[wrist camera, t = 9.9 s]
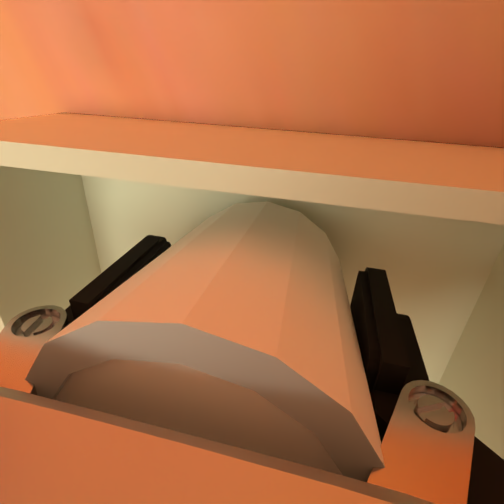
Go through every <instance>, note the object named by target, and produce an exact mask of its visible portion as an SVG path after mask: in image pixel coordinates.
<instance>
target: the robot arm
mask: <svg viewBox="0 0 504 504" xmlns="http://www.w3.org/2000/svg"><path fill="white" fill-rule="evenodd" d="M170 247H171V244H170V242H167V240H166V238H165V237H161V236H154V235H147V236H146V237H145V238H143V239H142V240H141V241H140V242H139V243H137V244H136V245H135V246H134V247H133V248H131V249H130V250H129V251H128V252H126V253H125V254H124V255H123V256H122V257H120V258H119V259H118V260H117V261H116V262H114V263H113V264H112V265H111V266H110V267H108V268H107V269H106V270H105V271H103V272H102V273H101V274H100V275H99V276H97V277H96V278H95V279H94V280H93V281H91V282H90V283H89V284H88V285H87V286H85V287H84V288H83V289H82V290H81V291H79V292H78V293H77V294H76V295H74V296H73V297H72V298H71V299H70V300H69V302H70V306H69V307H68V308H66V309H65V310H64V309H63V308H62V307H59V306H55V305H45V306H38V307H34V308H31V309H28V310H26V311H24V312H21V313H19V314H18V315H16V316H15V317H13V318H12V319H11V320H10V321H9V322H8V323H7V324H6V325H5V327H4V328H3V330H2V331H1V333H0V504H504V459H502V458H501V457H500V456H499V455H497V454H496V453H495V452H494V451H493V450H491V449H490V448H489V447H488V446H486V445H485V444H484V443H483V442H482V441H480V440H479V439H478V438H477V437H475V428H476V427H475V418H474V416H473V414H472V412H471V410H470V408H469V407H468V406H467V405H466V403H465V402H464V401H463V400H462V399H461V398H460V397H459V396H458V395H456V394H455V393H454V392H453V391H451V390H449V389H447V388H446V387H444V386H442V385H440V384H437V383H434V382H432V381H429V377H428V374H427V371H426V368H425V364H424V361H423V358H422V355H421V351H420V348H419V345H418V342H417V338H416V335H415V332H414V329H413V325H412V322H411V319H410V317H409V316H408V315H404V314H398V313H396V309H395V305H394V301H393V297H392V293H391V289H390V285H389V281H388V278H387V274H386V271H385V270H382V269H376V268H369V267H366V269H365V271H359V272H358V275H357V279H356V283H355V287H354V292H353V296H352V300H351V304H350V309H351V313H352V317H353V322H354V326H355V331H356V335H357V339H358V344H359V348H360V352H361V357H362V361H363V366H364V370H365V374H366V379H367V383H368V387H369V392H370V396H371V400H372V405H373V409H374V414H375V418H376V422H377V427H378V431H379V435H380V440H381V446H380V447H381V451H382V456H383V460H384V464H385V468H383V467H373V468H372V470H371V473H370V475H369V478H368V480H367V482H364V481H360V480H357V479H353V478H350V477H346V476H343V475H339V474H335V473H332V472H328V471H325V470H321V469H317V468H314V467H310V466H306V465H302V464H299V463H295V462H291V461H287V460H284V459H280V458H276V457H272V456H269V455H265V454H261V453H257V452H254V451H250V450H246V449H242V448H239V447H235V446H231V445H227V444H224V443H220V442H216V441H212V440H208V439H205V438H201V437H197V436H193V435H189V434H185V433H182V432H178V431H174V430H170V429H166V428H162V427H159V426H155V425H151V424H147V423H143V422H139V421H135V420H132V419H128V418H124V417H120V416H116V415H112V414H109V413H105V412H101V411H97V410H93V409H89V408H85V407H81V406H77V405H73V404H69V403H65V402H61V401H57V400H54V399H50V398H46V397H42V396H38V395H37V392H36V388H35V385H34V384H33V383H31V382H29V381H27V380H25V379H26V377H27V375H28V373H29V371H30V369H31V367H32V365H33V364H34V362H35V360H36V358H37V356H38V354H39V352H40V350H41V349H42V347H43V345H44V343H46V342H47V341H48V340H49V339H51V338H52V337H53V336H55V335H56V334H57V333H59V332H60V331H61V330H63V329H64V328H65V327H66V326H68V325H69V324H70V323H72V322H73V321H74V320H76V319H77V318H78V317H79V316H81V315H82V314H83V313H85V312H86V311H87V310H89V309H90V308H91V307H93V306H94V305H95V304H96V303H98V302H99V301H100V300H102V299H103V298H104V297H106V296H107V295H108V294H110V293H111V292H112V291H113V290H115V289H116V288H117V287H119V286H120V285H121V284H123V283H124V282H125V281H127V280H128V279H129V278H130V277H132V276H133V275H134V274H136V273H137V272H138V271H140V270H141V269H142V268H144V267H145V266H146V265H147V264H149V263H150V262H151V261H153V260H154V259H155V258H157V257H158V256H159V255H161V254H162V253H163V252H164V251H166V250H167V249H168V248H170Z"/></svg>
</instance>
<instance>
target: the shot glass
mask: <svg viewBox="0 0 504 504" xmlns="http://www.w3.org/2000/svg"><path fill="white" fill-rule="evenodd" d="M25 380H27V381H29V382H31V383H33V384H34V385H35V388H36V392H37V395H38V396H42V397H46V398H50V399H54V400H57V401H61V402H65V403H69V404H73V405H77V406H81V407H85V408H89V409H93V410H97V411H101V412H105V413H109V414H112V415H116V416H120V417H124V418H128V419H132V420H135V421H139V422H143V423H147V424H151V425H155V426H159V427H162V428H166V429H170V430H174V431H178V432H182V433H185V434H189V435H193V436H197V437H201V438H205V439H208V440H212V441H216V442H220V443H224V444H227V445H231V446H235V447H239V448H242V449H246V450H250V451H254V452H257V453H261V454H265V455H269V456H272V457H276V458H280V459H284V460H287V461H291V462H295V463H299V464H302V465H306V466H310V467H314V468H317V469H321V470H325V471H328V472H332V473H335V474H339V475H343V476H346V477H350V478H353V479H357V480H360V481H364V482H367V480H368V478H369V475H370V473H371V470H372V468H373V467H383V468H385V464H384V460H383V456H382V451H381V447H380V446H381V440H380V435H379V431H378V427H377V422H376V418H375V414H374V409H373V405H372V400H371V396H370V392H369V387H368V383H367V379H366V374H365V370H364V366H363V361H362V357H361V352H360V348H359V344H358V339H357V335H356V331H355V326H354V322H353V317H352V313H351V309H350V304H349V300H348V296H347V291H346V287H345V282H344V278H343V274H342V269H341V265H340V261H339V258H338V256H337V254H336V252H335V250H334V248H333V247H332V245H331V243H330V241H329V239H328V237H327V235H326V233H325V232H324V231H323V230H321V229H320V228H319V227H318V226H316V225H315V224H314V223H313V222H312V221H310V220H309V219H308V218H307V217H306V216H304V215H303V214H302V213H301V212H299V211H296V210H293V209H290V208H286V207H283V206H280V205H277V204H274V203H271V202H268V201H267V202H251V203H236V204H234V205H232V206H230V207H228V208H226V209H224V210H222V211H220V212H218V213H216V214H214V215H212V216H210V217H209V218H208V219H206V220H205V221H204V222H202V223H201V224H200V225H198V226H197V227H196V228H195V229H193V230H192V231H191V232H189V233H188V234H187V235H185V236H184V237H183V238H181V239H180V240H179V241H178V242H176V243H175V244H174V245H172V246H171V247H170V248H168V249H167V250H166V251H164V252H163V253H162V254H161V255H159V256H158V257H157V258H155V259H154V260H153V261H151V262H150V263H149V264H147V265H146V266H145V267H144V268H142V269H141V270H140V271H138V272H137V273H136V274H134V275H133V276H132V277H130V278H129V279H128V280H127V281H125V282H124V283H123V284H121V285H120V286H119V287H117V288H116V289H115V290H113V291H112V292H111V293H110V294H108V295H107V296H106V297H104V298H103V299H102V300H100V301H99V302H98V303H96V304H95V305H94V306H93V307H91V308H90V309H89V310H87V311H86V312H85V313H83V314H82V315H81V316H79V317H78V318H77V319H76V320H74V321H73V322H72V323H70V324H69V325H68V326H66V327H65V328H64V329H63V330H61V331H60V332H59V333H57V334H56V335H55V336H53V337H52V338H51V339H49V340H48V341H47V342H46V343H44V345H43V347H42V349H41V350H40V352H39V354H38V356H37V358H36V360H35V362H34V364H33V365H32V367H31V369H30V371H29V373H28V375H27V377H26V379H25Z"/></svg>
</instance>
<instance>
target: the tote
mask: <svg viewBox="0 0 504 504" xmlns="http://www.w3.org/2000/svg"><path fill="white" fill-rule="evenodd" d="M267 201H268V202H271V203H274V204H277V205H280V206H283V207H286V208H290V209H293V210H296V211H299V212H301V213H302V214H303V215H304V216H306V217H307V218H308V219H309V220H310V221H312V222H313V223H314V224H315V225H316V226H318V227H319V228H320V229H321V230H323V231H324V232H325V233H326V235H327V237H328V239H329V241H330V243H331V245H332V247H333V248H334V250H335V252H336V254H337V256H338V258H339V261H340V265H341V269H342V274H343V278H344V282H345V287H346V291H347V296H348V300H349V304H351V300H352V296H353V292H354V287H355V283H356V279H357V275H358V272H359V271H365V269H366V267H369V268H376V269H382V270H385V271H386V274H387V278H388V281H389V285H390V289H391V293H392V297H393V301H394V305H395V309H396V313H398V314H404V315H408V316H409V317H410V319H411V322H412V325H413V329H414V332H415V335H416V338H417V342H418V345H419V348H420V351H421V355H422V358H423V361H424V364H425V368H426V371H427V374H428V377H429V381H432V382H434V383H437V384H440V385H442V386H444V387H446V388H447V389H449V390H451V391H453V392H454V393H455V394H456V395H458V396H459V397H460V398H461V399H462V400H463V401H464V402H465V403H466V405H467V406H468V407H469V408H470V410H471V412H472V414H473V416H474V418H475V427H476V428H475V437H477V438H478V439H479V440H480V441H482V442H483V443H484V444H485V445H486V446H488V447H489V448H490V449H491V450H493V451H494V452H495V453H496V454H497V455H499V456H500V457H501V458H502V459H504V148H498V147H486V146H473V145H461V144H448V143H436V142H424V141H411V140H399V139H386V138H374V137H362V136H349V135H337V134H324V133H312V132H299V131H287V130H275V129H262V128H250V127H237V126H225V125H213V124H200V123H188V122H175V121H163V120H150V119H138V118H126V117H113V116H101V115H88V114H76V113H57V114H48V115H40V116H31V117H23V118H14V119H6V120H0V333H1V331H2V330H3V328H4V327H5V325H6V324H7V323H8V322H9V321H10V320H11V319H12V318H13V317H15V316H16V315H18V314H19V313H21V312H24V311H26V310H28V309H31V308H34V307H38V306H45V305H55V306H59V307H62V308H63V309H64V310H65V309H66V308H68V307H69V306H70V302H69V300H70V299H71V298H72V297H73V296H74V295H76V294H77V293H78V292H79V291H81V290H82V289H83V288H84V287H85V286H87V285H88V284H89V283H90V282H91V281H93V280H94V279H95V278H96V277H97V276H99V275H100V274H101V273H102V272H103V271H105V270H106V269H107V268H108V267H110V266H111V265H112V264H113V263H114V262H116V261H117V260H118V259H119V258H120V257H122V256H123V255H124V254H125V253H126V252H128V251H129V250H130V249H131V248H133V247H134V246H135V245H136V244H137V243H139V242H140V241H141V240H142V239H143V238H145V237H146V236H147V235H154V236H161V237H165V238H166V240H167V242H170V244H171V246H172V245H174V244H175V243H176V242H178V241H179V240H180V239H181V238H183V237H184V236H185V235H187V234H188V233H189V232H191V231H192V230H193V229H195V228H196V227H197V226H198V225H200V224H201V223H202V222H204V221H205V220H206V219H208V218H209V217H210V216H212V215H214V214H216V213H218V212H220V211H222V210H224V209H226V208H228V207H230V206H232V205H234V204H236V203H251V202H267Z"/></svg>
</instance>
